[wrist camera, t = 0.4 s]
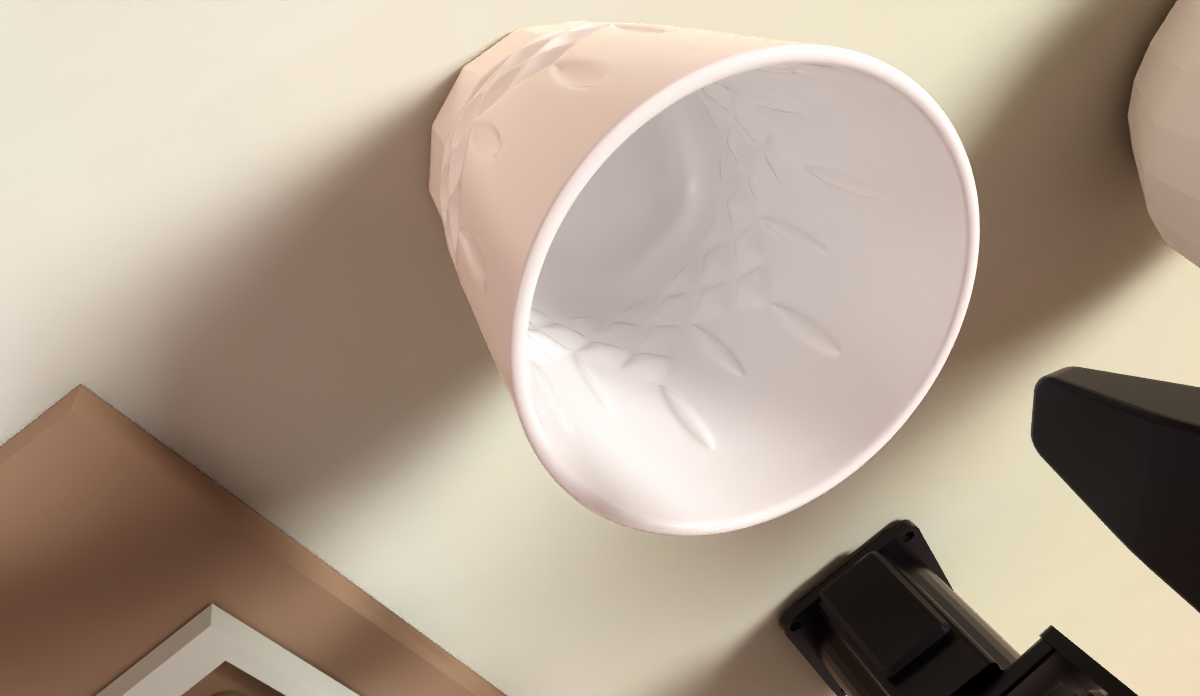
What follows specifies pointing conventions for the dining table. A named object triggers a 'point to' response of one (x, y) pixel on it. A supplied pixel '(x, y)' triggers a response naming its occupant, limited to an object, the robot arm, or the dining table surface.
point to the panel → (220, 661)
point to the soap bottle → (1170, 128)
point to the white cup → (703, 259)
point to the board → (171, 572)
